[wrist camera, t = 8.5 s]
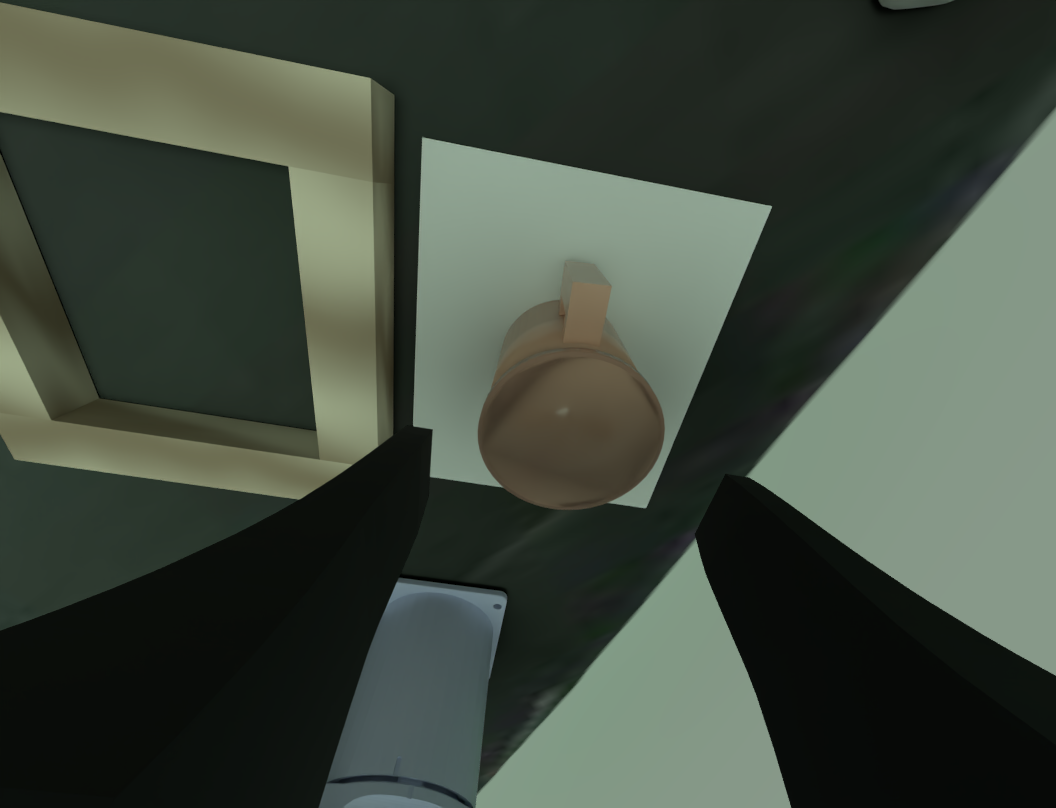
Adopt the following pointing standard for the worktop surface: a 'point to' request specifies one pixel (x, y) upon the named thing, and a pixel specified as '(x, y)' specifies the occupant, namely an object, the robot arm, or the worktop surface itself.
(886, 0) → the eye dropper bottle
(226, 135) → the holder
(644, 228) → the mat
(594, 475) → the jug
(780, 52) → the worktop surface
